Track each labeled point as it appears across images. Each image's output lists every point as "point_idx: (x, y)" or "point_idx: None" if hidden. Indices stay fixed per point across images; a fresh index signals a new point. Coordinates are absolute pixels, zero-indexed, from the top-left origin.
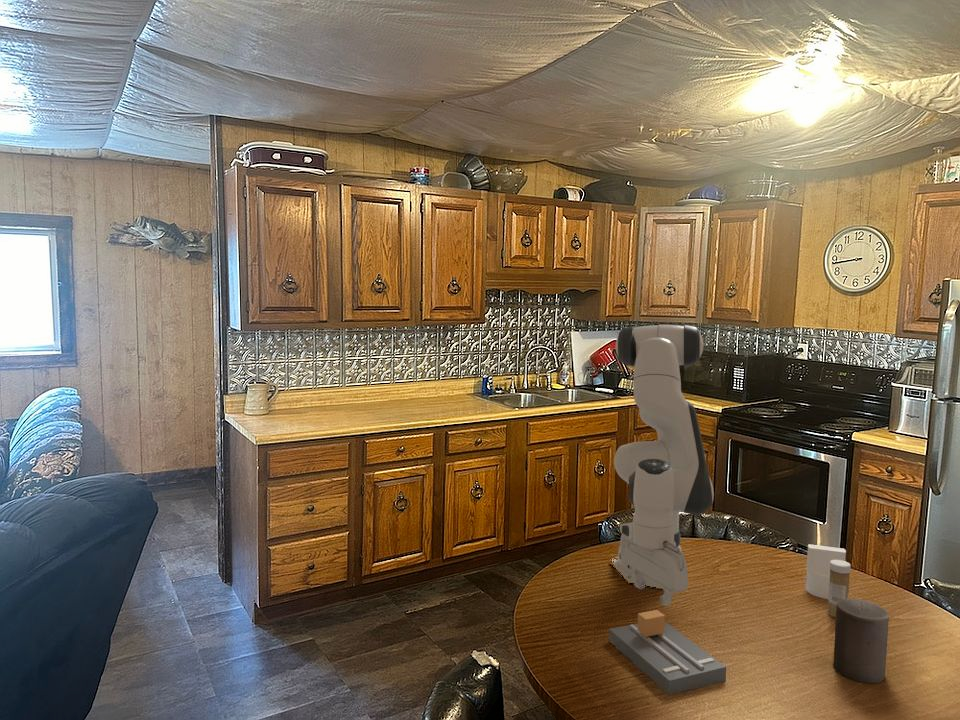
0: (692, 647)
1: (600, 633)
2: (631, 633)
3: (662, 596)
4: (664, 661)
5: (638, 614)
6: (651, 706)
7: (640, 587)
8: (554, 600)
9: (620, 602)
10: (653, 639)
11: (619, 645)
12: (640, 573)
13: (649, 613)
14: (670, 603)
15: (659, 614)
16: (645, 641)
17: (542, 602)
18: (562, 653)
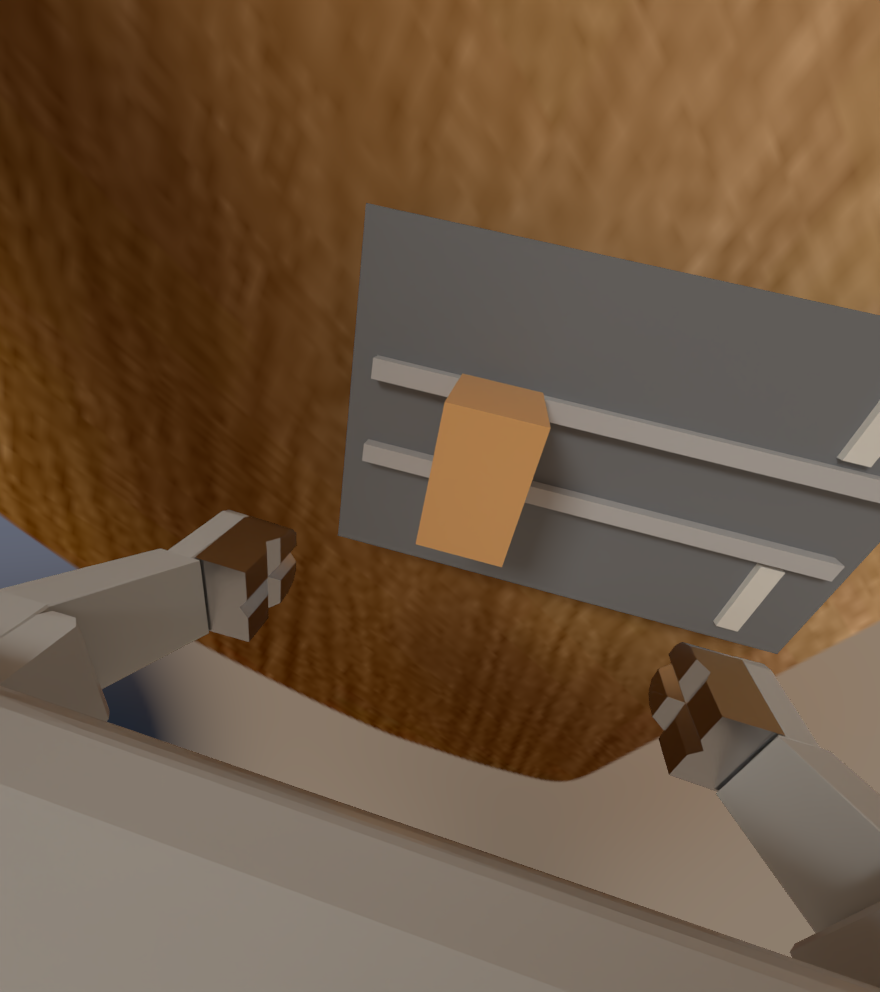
0: (739, 340)
1: (293, 486)
2: (416, 492)
3: (701, 773)
4: (682, 566)
5: (421, 542)
6: None
7: (286, 576)
8: (8, 439)
9: (35, 153)
10: None
11: None
12: (106, 610)
13: (458, 492)
14: (768, 677)
15: (510, 447)
16: None
17: (24, 486)
18: (352, 650)
